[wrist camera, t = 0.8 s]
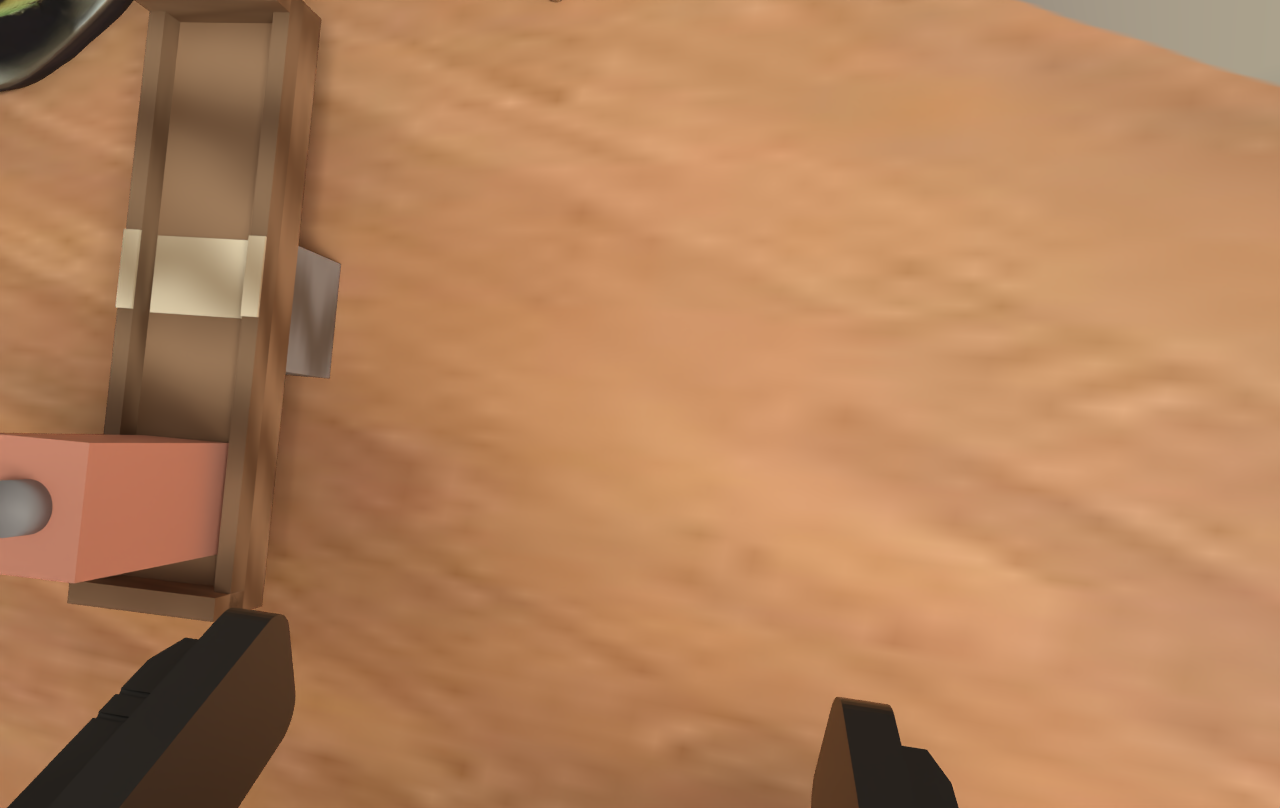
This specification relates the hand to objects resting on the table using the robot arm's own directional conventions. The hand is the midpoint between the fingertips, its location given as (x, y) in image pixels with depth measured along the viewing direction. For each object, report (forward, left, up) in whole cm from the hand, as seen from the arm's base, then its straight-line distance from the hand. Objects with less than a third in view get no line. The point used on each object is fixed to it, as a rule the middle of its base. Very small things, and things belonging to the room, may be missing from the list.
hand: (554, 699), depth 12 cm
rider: (-1, +23, -22) cm, 32 cm away
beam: (+8, +23, -28) cm, 37 cm away
